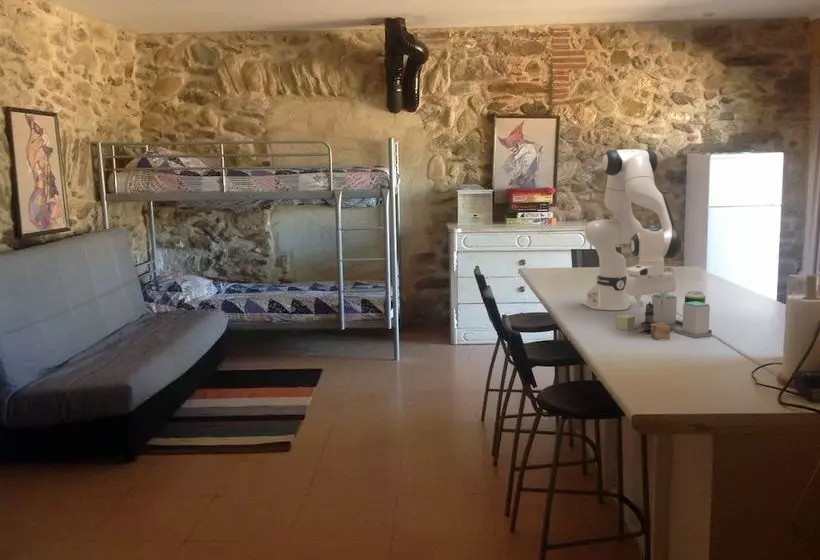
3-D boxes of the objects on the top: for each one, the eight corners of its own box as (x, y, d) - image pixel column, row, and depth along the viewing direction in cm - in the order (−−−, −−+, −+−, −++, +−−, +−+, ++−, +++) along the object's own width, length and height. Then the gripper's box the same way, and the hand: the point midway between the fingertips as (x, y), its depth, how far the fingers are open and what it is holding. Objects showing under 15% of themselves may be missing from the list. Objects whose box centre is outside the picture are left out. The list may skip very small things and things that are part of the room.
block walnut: (650, 337, 278) (651, 323, 277) (663, 336, 278) (664, 323, 277) (656, 340, 273) (656, 326, 272) (669, 339, 273) (670, 326, 272)
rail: (648, 323, 299) (648, 318, 298) (665, 322, 301) (665, 316, 301) (694, 338, 274) (694, 332, 274) (711, 335, 277) (711, 330, 277)
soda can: (691, 325, 295) (692, 294, 294) (680, 321, 303) (681, 291, 301) (708, 323, 297) (709, 293, 296) (696, 319, 305) (697, 290, 303)
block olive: (616, 328, 292) (616, 316, 291) (623, 326, 295) (623, 314, 294) (627, 331, 288) (627, 318, 287) (634, 328, 291) (635, 316, 290)
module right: (682, 330, 282) (683, 302, 280) (695, 328, 284) (696, 301, 282) (695, 334, 275) (696, 305, 273) (708, 332, 277) (709, 304, 275)
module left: (651, 321, 298) (652, 294, 297) (663, 319, 300) (664, 293, 299) (663, 324, 292) (663, 297, 290) (675, 323, 294) (676, 296, 292)
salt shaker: (653, 330, 287) (654, 299, 285) (659, 334, 282) (660, 302, 280) (638, 331, 287) (639, 300, 285) (643, 334, 281) (644, 302, 279)
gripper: (668, 266, 287) (667, 302, 289) (623, 269, 280) (622, 306, 282) (680, 268, 281) (679, 304, 283) (634, 271, 274) (633, 309, 276)
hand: (650, 305), depth 282 cm, fingers open, 8 cm apart
